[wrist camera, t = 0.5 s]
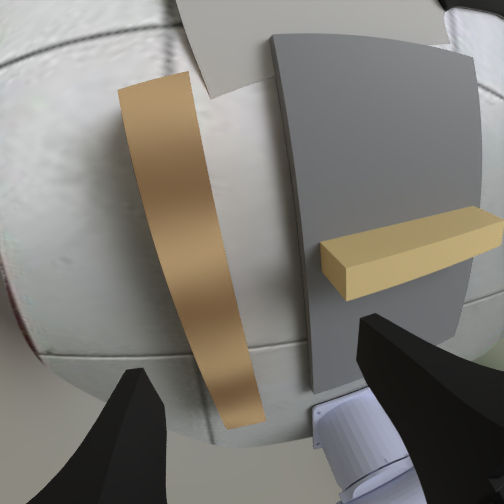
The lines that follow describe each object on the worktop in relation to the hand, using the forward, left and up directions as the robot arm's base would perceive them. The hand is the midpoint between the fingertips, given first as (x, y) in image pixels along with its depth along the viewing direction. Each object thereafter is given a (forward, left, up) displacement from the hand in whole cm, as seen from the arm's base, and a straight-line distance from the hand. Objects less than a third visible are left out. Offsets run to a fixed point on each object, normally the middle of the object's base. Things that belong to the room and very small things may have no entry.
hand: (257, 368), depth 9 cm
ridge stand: (-1, -12, -9) cm, 16 cm away
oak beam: (-1, +2, -10) cm, 10 cm away
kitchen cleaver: (+15, -15, -10) cm, 24 cm away
